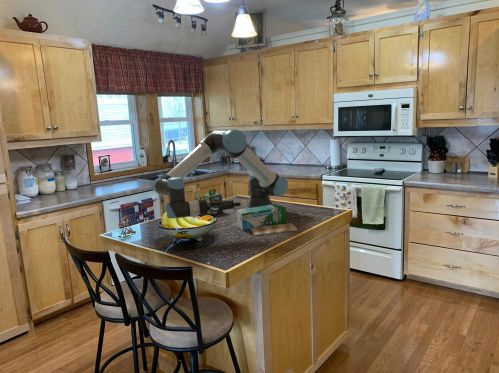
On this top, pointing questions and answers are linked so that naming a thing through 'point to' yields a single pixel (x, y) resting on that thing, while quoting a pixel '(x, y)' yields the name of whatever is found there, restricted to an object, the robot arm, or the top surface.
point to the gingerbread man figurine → (126, 225)
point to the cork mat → (273, 229)
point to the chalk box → (212, 199)
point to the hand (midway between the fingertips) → (246, 202)
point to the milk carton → (261, 216)
